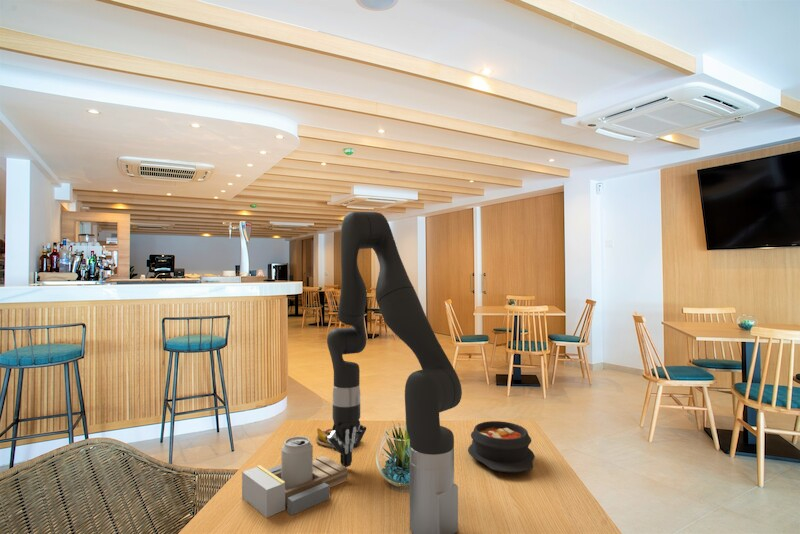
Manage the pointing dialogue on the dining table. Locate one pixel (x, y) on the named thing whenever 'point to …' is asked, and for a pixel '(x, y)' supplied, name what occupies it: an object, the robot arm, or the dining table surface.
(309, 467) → the can
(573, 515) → the dining table surface
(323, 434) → the toy sandwich meal
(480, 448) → the casserole
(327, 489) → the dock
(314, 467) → the pallet
